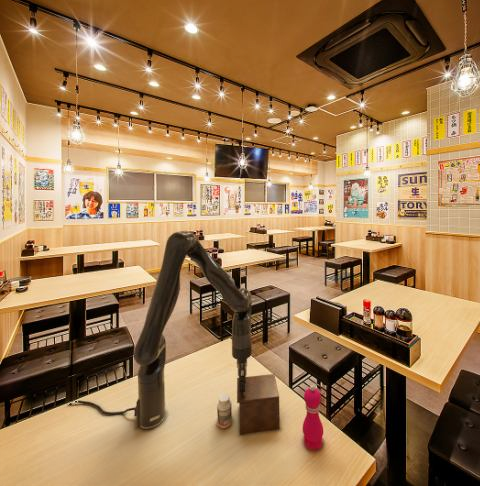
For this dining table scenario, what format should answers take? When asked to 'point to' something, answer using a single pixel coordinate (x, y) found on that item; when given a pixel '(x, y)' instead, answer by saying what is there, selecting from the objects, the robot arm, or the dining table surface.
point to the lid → (258, 389)
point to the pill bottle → (224, 411)
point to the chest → (259, 416)
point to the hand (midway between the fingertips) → (242, 385)
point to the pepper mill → (312, 419)
